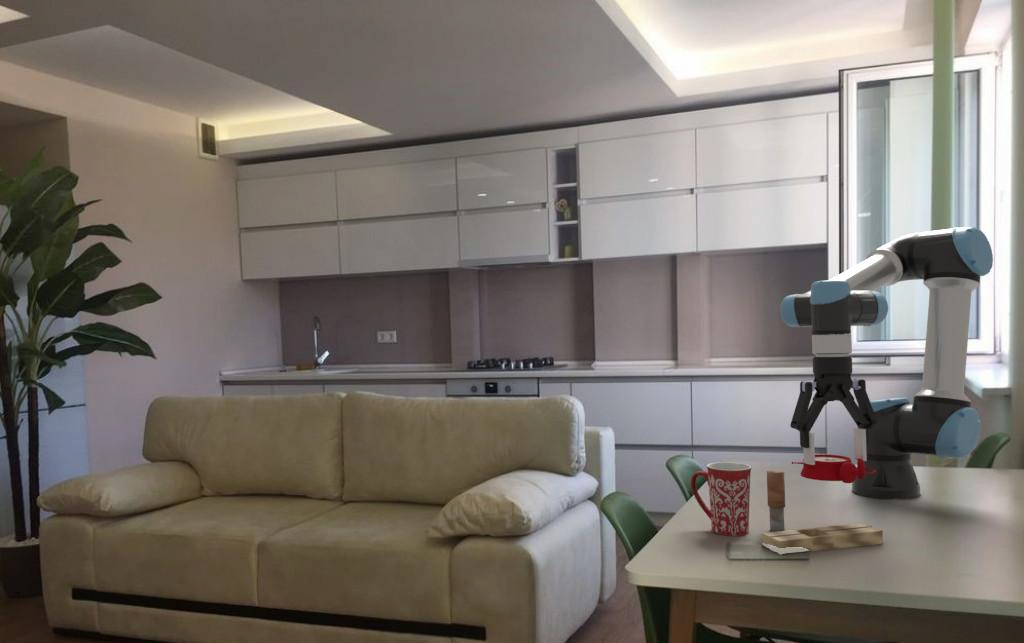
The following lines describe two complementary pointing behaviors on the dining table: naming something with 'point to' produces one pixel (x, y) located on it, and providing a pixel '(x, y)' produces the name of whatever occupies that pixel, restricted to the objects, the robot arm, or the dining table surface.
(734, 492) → the mug
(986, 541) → the dining table surface
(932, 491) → the dining table surface
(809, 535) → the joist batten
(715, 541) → the dining table surface
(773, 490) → the wooden tool handle
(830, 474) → the alarm clock
